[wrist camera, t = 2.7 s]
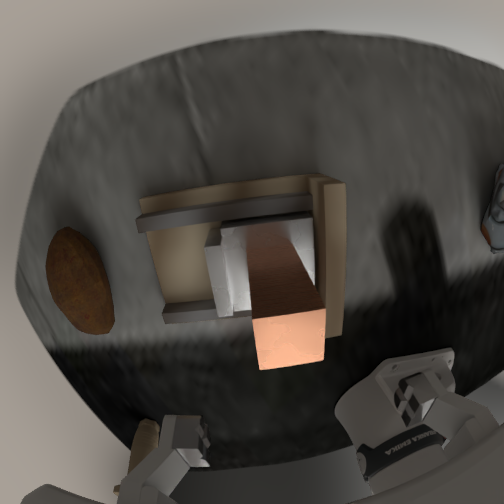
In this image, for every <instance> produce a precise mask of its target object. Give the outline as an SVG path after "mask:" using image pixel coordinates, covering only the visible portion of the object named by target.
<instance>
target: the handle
mask: <svg viewBox="0 0 504 504" xmlns="http://www.w3.org/2000/svg"><path fill="white" fill-rule="evenodd" d="M158 432H159V425H158V424H157V423H156V421H152V420H149V419H144V420H141V421H140V423H139V427H138V429H137V432H136V434H135V437H134V440H133V444H132V448H131V456H130V461H129V469H128V474H129V473H130V472H131V471H132V470H133V469H134V468H135V467H136V466H137V465H138V464H139V463H140V462H141V461H142V460H143V459H144V458H145V457H146V456H147V455H148V454H149V453H150V452H151V451H152V450H153V449H154V448H157V447H158ZM128 474H127V475H128ZM119 490H120V485H117V486H115V487H114V491H113V492H114V494H116V495H119Z"/></svg>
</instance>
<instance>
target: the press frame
mask: <svg viewBox="0 0 504 504" xmlns="http://www.w3.org/2000/svg"><path fill="white" fill-rule="evenodd" d="M139 201H140V206H141V211H142V214H141V215H140V216H139V217H138V218H136V219H135V221H136V225H137V229H138V233H143V232H146V233H147V237H148V242H149V246H150V250H151V254H152V257H153V261H154V265H155V269H156V272H157V276H158V279H159V283H160V286H161V290H162V293H163V296H164V300H165V303H166V304H165V307H164V309H163V312H162V316H163V319H164V322H165V324H171V323H172V324H174V323H187V322H199V321H210V320H220V319H229V318H238V317H247V316H252V311H251V310H243V311H235V312H234V306H233V316H225V317H218V314H217V309H216V305H215V300H214V295H213V291H212V286H211V281H210V276H209V271H208V266H207V261H206V256H205V251H204V245H205V242H206V239H207V236H208V232H209V229H213V228H220V227H221V223H222V221H223V220H231V219H238V218H246V217H254V216H262V215H270V214H279V213H288V212H297V211H307V212H308V214H309V215H310V216H311V217H312V218H313V235H314V268H315V288H316V290H317V292H318V294H319V296H320V298H321V300H322V302H323V304H324V306H325V308H326V322H325V338H329V337H334V336H339V335H342V325H343V313H344V298H345V279H346V243H347V218H346V183H344V182H341V181H339V180H336V179H333V178H331V177H328V176H326V175H323V174H320V173H318V174H305V175H294V176H283V177H273V178H264V179H255V180H247V181H239V182H231V183H224V184H217V185H210V186H204V187H197V188H191V189H185V190H179V191H173V192H168V193H162V194H157V195H152V196H147V197H143V198H141V199H140V200H139Z"/></svg>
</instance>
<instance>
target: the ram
mask: <svg viewBox="0 0 504 504" xmlns="http://www.w3.org/2000/svg"><path fill="white" fill-rule="evenodd" d="M204 251H205V256H206V261H207V266H208V271H209V276H210V281H211V286H212V291H213V295H214V300H215V305H216V309H217V314H218V317H225V316H233V306H234V312H235V311H243V310H251V311H252V321H253V328H254V335H255V342H256V349H257V355H258V362H259V369H260V370H264V369H272V368H279V367H286V366H292V365H299V364H305V363H310V362H316V361H321V360H323V359H324V343H325V322H326V308H325V306H324V304H323V302H322V300H321V298H320V296H319V294H318V292H317V290H316V288H315V268H314V235H313V218H312V217H311V216H310V215H309V214H308V212H307V211H297V212H288V213H279V214H270V215H262V216H254V217H246V218H238V219H231V220H223V221H222V223H221V227H220V228H213V229H209V232H208V236H207V239H206V242H205V245H204Z"/></svg>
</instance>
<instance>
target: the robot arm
mask: <svg viewBox="0 0 504 504" xmlns="http://www.w3.org/2000/svg"><path fill="white" fill-rule="evenodd" d="M453 362H454V352H453V350H452V348H445V349H440V350H436V351H431V352H425V353H420V354H414V355H408V356H402V357H396V358H389V359H386V360H384V361H383V362H381V363H380V364H379V365H378V366H377V367H376V369H375V370H374V371H373V372H372V373H371V374H370V375H369V376H367V377H366V378H364V379H363V380H361V381H360V382H358V383H357V384H356V385H354V386H353V387H352V388H350V389H349V390H348V391H347V392H346V393H345V394H344V395H343V396H342V397H341V398H340V400H339V401H338V403H337V405H336V407H335V416H336V418H337V419H338V420H339V421H340V423H341V424H342V425H343V427H344V428H345V430H346V431H347V433H348V435H349V436H350V438H351V440H352V442H353V444H354V446H355V448H356V450H357V453H356V454H357V461H358V464H359V468H360V471H361V473H362V475H363V477H364V480H365V482H366V483H368V484H369V486H370V489H371V492H372V496H369V497H366V498H363V499H360V500H357V501H354V502H350V503H346V504H504V423H503V424H501V425H500V426H499V424H498V423H497V421H496V420H495V418H494V417H493V415H492V414H491V412H490V411H489V409H488V408H487V407H485V406H483V405H480V404H478V403H476V402H474V401H471V400H469V399H467V398H464V397H462V396H460V395H458V394H455V393H454V391H455V380H454V377H453V375H452V373H451V368H452V365H453ZM446 439H449V440H450V442H449V443H448V444H447V445H446V446H445V448H444V450H443V449H442V447H441V446H442V445H443V443H444V442H445V440H446ZM210 441H211V438H210V431H209V427H208V425H206V424H205V419H204V417H203V415H165V417H164V419H163V425H162V430H161V436H160V442H159V447H158V448H154V449H153V450H152V451H151V452H150V453H149V454H148V455H147V456H146V457H145V458H144V459H143V460H142V461H141V462H140V463H139V464H138V465H137V466H136V467H135V468H134V469H133V470H132V471H131V472H130V473H129V474H128V475H127V476H126V477H125V478H124V479H123V480H122V481H121V485H120V490H119V495H118V500H117V504H178V503H176V502H175V501H174V500H172V499H171V498H169V497H168V496H169V495H170V493H171V492H172V491H173V489H174V488H175V487H176V486H177V484H178V483H179V482H180V480H181V479H182V478H183V476H184V475H185V474H186V472H187V471H188V470H189V468H190V467H210V452H209V451H208V449H207V448H208V447H209V446H210ZM21 504H104V503H100V502H97V501H94V500H91V499H88V498H85V497H82V496H79V495H76V494H73V493H71V492H68V491H66V490H63V489H61V488H58V487H56V486H53V485H50V484H45V485H43V486H40V487H39V488H37V489H35V490H34V491H32V492H31V493H29V494H28V495H26V496H25V497H24V498H23V500H22V502H21Z"/></svg>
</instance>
